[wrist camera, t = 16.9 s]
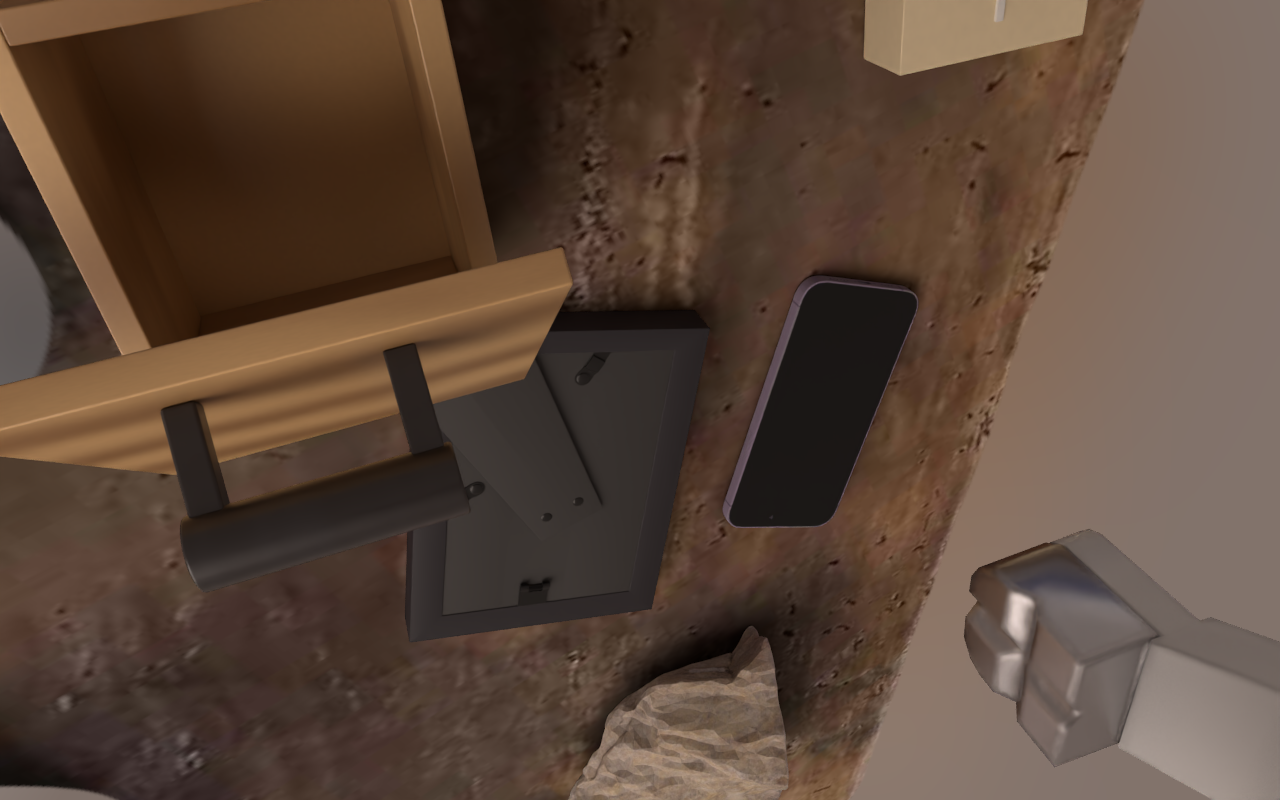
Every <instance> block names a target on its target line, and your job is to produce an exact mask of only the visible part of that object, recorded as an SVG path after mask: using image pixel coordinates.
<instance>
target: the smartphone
mask: <svg viewBox="0 0 1280 800" xmlns="http://www.w3.org/2000/svg"><path fill="white" fill-rule="evenodd" d="M917 309H918V298H917V296H916V294H915V293H914V292H912V291H911V290H909V289H908V288H906V287H904V286H902V285H896V284H888V283H880V282H872V281H863V280H855V279H847V278H839V277H831V276H813V277H810V278H808V279H806V280H805V281H803V282H802V283H801V285H800V286H799V287H798V289H797V291H796V292H795V295H794V298H793V301H792V303H791V306H790V309H789V312H788V315H787V318H786V321H785V324H784V327H783V330H782V333H781V336H780V339H779V342H778V345H777V348H776V351H775V354H774V357H773V360H772V363H771V365H770V368H769V371H768V374H767V377H766V380H765V383H764V386H763V389H762V392H761V395H760V398H759V401H758V404H757V407H756V410H755V413H754V416H753V419H752V422H751V424H750V427H749V430H748V433H747V436H746V439H745V442H744V445H743V448H742V451H741V454H740V457H739V460H738V463H737V466H736V469H735V472H734V475H733V478H732V481H731V483H730V486H729V489H728V492H727V495H726V498H725V501H724V505H723V514H724V516H725V518H726V519H727V521H728V522H729V523H730V524H731V525H732V526H734V527H737V528H772V527H818V526H821V525H824V524H825V523H827V522H828V521H830V520H831V518H832V517H833V516H834V514H835V513H836V511H837V508H838V506H839V504H840V501H841V499H842V496H843V494H844V491H845V489H846V486H847V484H848V481H849V479H850V476H851V474H852V471H853V469H854V466H855V464H856V461H857V459H858V456H859V454H860V451H861V449H862V446H863V444H864V441H865V439H866V437H867V434H868V432H869V429H870V427H871V424H872V422H873V419H874V417H875V414H876V412H877V409H878V407H879V404H880V402H881V399H882V397H883V394H884V392H885V389H886V387H887V384H888V382H889V379H890V377H891V374H892V372H893V370H894V367H895V365H896V362H897V360H898V357H899V355H900V352H901V350H902V347H903V345H904V342H905V340H906V337H907V335H908V332H909V330H910V327H911V325H912V322H913V320H914V317H915V315H916V312H917Z"/></svg>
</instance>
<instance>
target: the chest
mask: <svg viewBox="0 0 1280 800" xmlns="http://www.w3.org/2000/svg"><path fill="white" fill-rule="evenodd" d="M0 113H1V115H2V117H3V119H4V121H5V123H6V125H7V127H8V129H9V131H10V133H11V135H12V137H13V139H14V141H15V143H16V145H17V147H18V149H19V151H20V153H21V155H22V157H23V159H24V161H25V163H26V165H27V167H28V169H29V171H30V173H31V175H32V177H33V179H34V181H35V183H36V185H37V187H38V189H39V191H40V193H41V195H42V197H43V199H44V201H45V203H46V205H47V207H48V209H49V211H50V213H51V215H52V217H53V219H54V221H55V223H56V225H57V227H58V229H59V231H60V233H61V235H62V237H63V239H64V241H65V243H66V245H67V247H68V249H69V251H70V253H71V255H72V257H73V259H74V261H75V263H76V265H77V267H78V269H79V271H80V273H81V275H82V277H83V279H84V281H85V283H86V285H87V287H88V289H89V291H90V293H91V295H92V297H93V299H94V301H95V302H96V304H97V306H98V308H99V310H100V312H101V314H102V316H103V318H104V320H105V322H106V324H107V326H108V328H109V330H110V332H111V334H112V336H113V338H114V340H115V342H116V344H117V346H118V348H119V350H120V352H121V354H122V355H126V354H130V353H134V352H138V351H142V350H146V349H150V348H154V347H158V346H162V345H166V344H170V343H174V342H178V341H182V340H186V339H190V338H194V337H199V336H203V335H207V334H211V333H215V332H219V331H223V330H227V329H231V328H235V327H239V326H243V325H247V324H251V323H255V322H259V321H263V320H267V319H271V318H276V317H280V316H284V315H288V314H292V313H296V312H300V311H304V310H308V309H312V308H316V307H320V306H324V305H328V304H332V303H336V302H340V301H344V300H348V299H353V298H357V297H361V296H365V295H369V294H373V293H377V292H381V291H385V290H389V289H393V288H397V287H401V286H405V285H409V284H413V283H417V282H421V281H425V280H430V279H434V278H438V277H442V276H446V275H450V274H454V273H458V272H462V271H466V270H470V269H474V268H478V267H482V266H486V265H490V264H494V263H498V262H497V257H496V253H495V248H494V243H493V239H492V234H491V229H490V225H489V220H488V215H487V210H486V206H485V201H484V196H483V192H482V187H481V182H480V178H479V173H478V168H477V164H476V159H475V154H474V150H473V145H472V140H471V136H470V131H469V126H468V122H467V117H466V112H465V108H464V103H463V98H462V94H461V89H460V84H459V80H458V75H457V70H456V66H455V61H454V56H453V52H452V47H451V42H450V38H449V33H448V28H447V24H446V19H445V14H444V10H443V5H442V0H0Z"/></svg>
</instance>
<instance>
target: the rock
mask: <svg viewBox="0 0 1280 800" xmlns="http://www.w3.org/2000/svg"><path fill="white" fill-rule="evenodd" d="M787 788H788V764H787V756H786V734H785V729H784V724H783V719H782V714H781V710H780V706H779V701H778V693H777V683H776V678H775V665H774V660H773V656H772V651H771V648H770V645H769V642H768V639H767V638H766V637H762V636H760V637H759V635H758V632H757V630H756V629H755V628H754V627H753V626H750V627H748V628H747V629H746V630H745V632H744V633H743V635H742V637H741V639H740V641H739V643H738V645H737V646H736V648H735V649H734V651H733V652H732V653H727V654H724V655H721V656H718V657H715V658H712V659H708V660H705V661H701V662H697V663H693V664H690V665H687V666H685V667H682V668H680V669H677V670H674V671H671V672H668V673H664V674H662V675H661V676H659V677H657V678H655V679H654V680H652V681H651V682H650V683H648V684H646V685H645V686H643V687H642V688H640V689H639V690H637V691H636V692H634V693H631V694H630V695H628V696H626V697H625V698H624V699H623V700H622V701H621V702H620V703H619V704H618V705H617V706H616V707H615V708H614V709H613V711H612V712H611V713H610V714H609V715H608V717H607V720H606V722H605V731H604V733H603V738H602V742H601V745H600V748H599V749H598V750H597V751H596V752H594V753H593V754H592V756H591V758H590V760H589V762H588V763H587V764H586V766H585V767H584V769H583V775H582V776H581V777H580V778H579V779H578V780H577V782H576V784H575V785H574V787H573V788H572V790H571V793H570V797H569V799H568V800H778V798H779V797H780V793H781V791H782V790H786V789H787Z"/></svg>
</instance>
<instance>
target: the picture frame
mask: <svg viewBox="0 0 1280 800" xmlns="http://www.w3.org/2000/svg"><path fill="white" fill-rule="evenodd" d="M709 330H710V328H709V327H708V326H707V324H706V323H705V322H704V321H703V320H702V318H701V317H700V316H699V315H698V314H697V312H696V311H695V310H667V311H600V312H558V314H557V316H556V318H555V320H554V322H553V324H552V326H551V328H550V330H549V332H548V334H547V336H546V338H545V339H544V341H543V343H542V345H541V347H540V349H539V351H538V353H537V355H536V357H535V359H534V361H533V363H532V365H531V367H530V369H529V371H528V373H527V375H526V377H525V378H524V379H522V380H518V381H515V382H511V383H508V384H504V385H500V386H497V387H493V388H489V389H486V390H482V391H478V392H475V393H471V394H468V395H464V396H460V397H457V398H453V399H449V400H446V401H442V402H438V403H435V404H433V406H434V410H435V413H436V417H437V420H438V424H439V427H440V431H441V434H442V438H443V441H444V443H445V442H451V444H452V446H453V449H454V453H455V456H456V459H457V463H458V466H459V470H460V473H461V477H462V480H463V484H464V487H465V491H466V494H467V498H468V501H469V505H470V509H471V510H470V513H468V514H466V515H462V516H459V517H456V518H452V519H449V520H446V521H442V522H439V523H436V524H433V525H429V526H426V527H423V528H419V529H416V530H413V531H409V532H407V565H406V600H405V620H406V625H407V631H408V636H409V641H410V642H417V641H424V640H431V639H439V638H446V637H453V636H460V635H468V634H475V633H482V632H489V631H496V630H504V629H511V628H518V627H525V626H533V625H540V624H547V623H554V622H562V621H569V620H576V619H583V618H591V617H598V616H605V615H612V614H619V613H627V612H634V611H641V610H648V609H652V604H653V599H654V595H655V590H656V585H657V580H658V575H659V571H660V566H661V561H662V556H663V551H664V547H665V542H666V537H667V532H668V527H669V522H670V518H671V513H672V508H673V503H674V498H675V494H676V489H677V484H678V479H679V474H680V470H681V465H682V460H683V455H684V450H685V446H686V441H687V436H688V431H689V426H690V421H691V417H692V412H693V407H694V402H695V397H696V393H697V388H698V383H699V378H700V373H701V369H702V364H703V359H704V354H705V349H706V345H707V340H708V335H709ZM410 452H411V450H410Z"/></svg>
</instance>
